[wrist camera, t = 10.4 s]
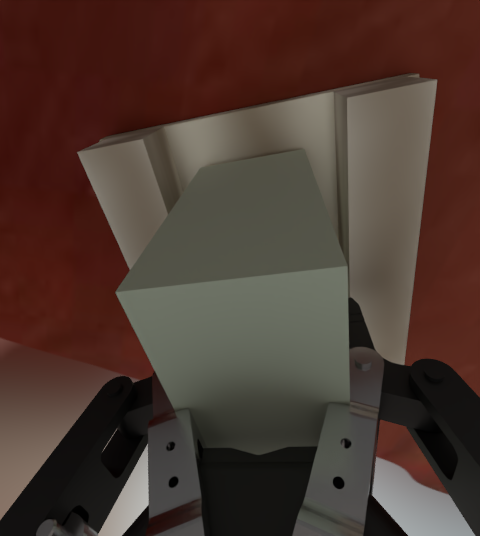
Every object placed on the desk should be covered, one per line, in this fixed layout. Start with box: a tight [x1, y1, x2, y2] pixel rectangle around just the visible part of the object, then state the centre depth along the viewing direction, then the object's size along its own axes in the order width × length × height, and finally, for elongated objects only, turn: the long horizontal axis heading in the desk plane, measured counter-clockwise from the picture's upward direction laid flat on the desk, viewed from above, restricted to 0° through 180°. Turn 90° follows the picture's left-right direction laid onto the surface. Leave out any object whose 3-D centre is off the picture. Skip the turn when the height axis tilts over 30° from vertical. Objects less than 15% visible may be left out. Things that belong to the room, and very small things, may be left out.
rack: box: [77, 73, 437, 365], centre depth 18 cm, size 15×16×4 cm
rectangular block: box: [115, 149, 350, 455], centre depth 14 cm, size 5×12×10 cm, turn 11°
